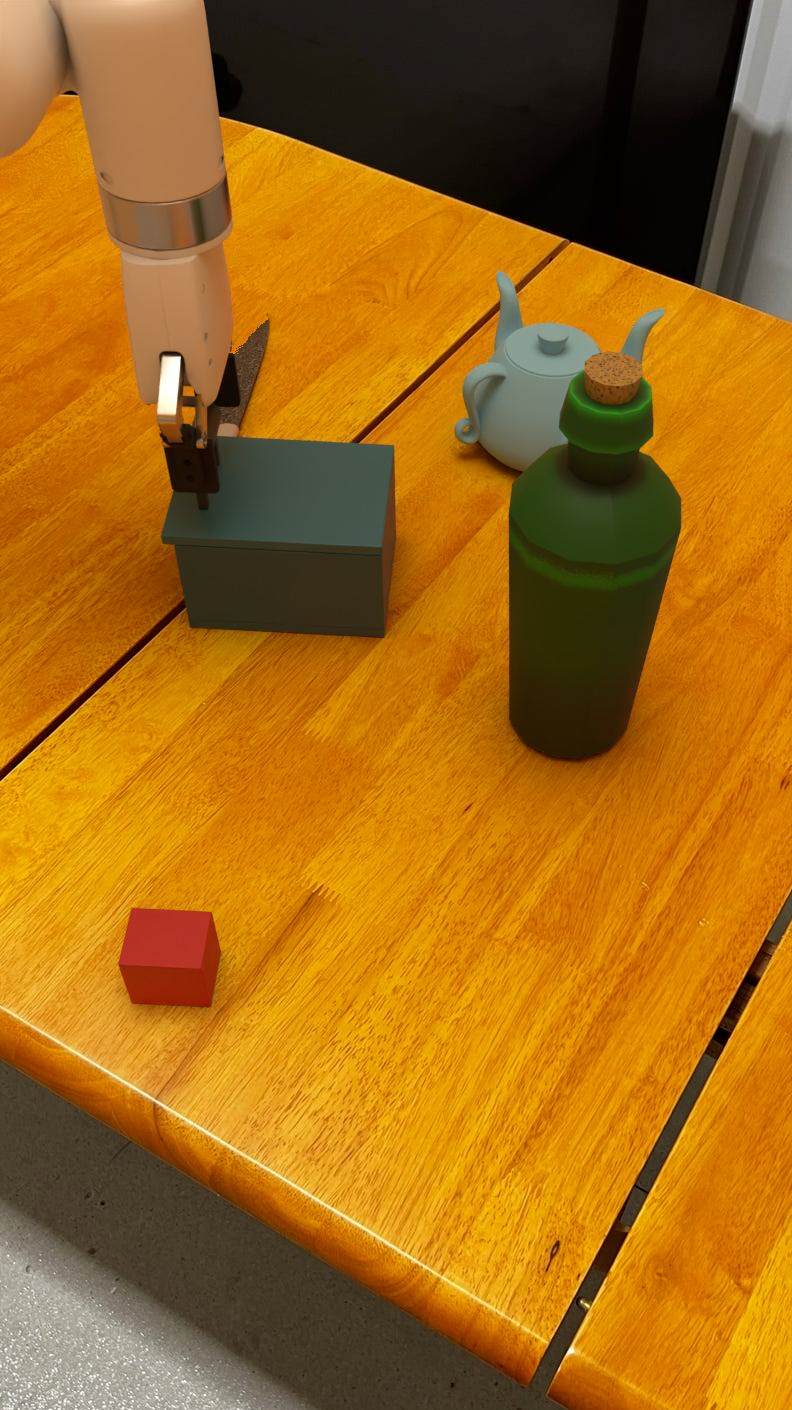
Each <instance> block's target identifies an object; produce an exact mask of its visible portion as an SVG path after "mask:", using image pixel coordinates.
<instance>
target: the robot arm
mask: <svg viewBox="0 0 792 1410" xmlns="http://www.w3.org/2000/svg"><path fill="white" fill-rule="evenodd" d="M212 58H213V57H212V51H211V43H210V36H209V28H208V20H207V13H206V8H205V2H204V0H0V160H1V159H4V158H8V157H10V156H12V155H13V154H15V153H16V152H18V151H19V150H21V149H22V148H23V147H25V146H26V144H27V143H28V142H29V141H30V140H31V139H32V137H33V136H34V134H35V133H36V131H38V128H39V127H40V125H41V123H42V121H43V120H44V119H45V116H46V114H47V113H48V112H49V110H50V108H51V106H52V103H53V102H54V100H55V99H57V98H59V97H60V96H61V95H63V94H65V93H67V92H69V91H73V92H74V93H76V94H77V95H78V98H79V103H80V107H81V113H82V117H83V123H84V127H85V132H86V137H87V140H88V141H87V142H88V146H89V150H90V155H91V161H92V166H93V170H94V174H95V179H96V184H97V188H98V194H99V198H100V203H101V207H102V208H101V209H102V213H103V217H104V222H105V225H106V231H107V236H108V238H109V240H110V241H111V242H112V244H113V245H114V246H116V247H117V248H118V249H119V250H120V267H121V268H120V269H121V283H122V294H123V300H124V309H125V317H126V324H127V325H126V326H127V330H128V338H129V343H130V349H131V355H132V356H131V357H132V362H133V368H134V374H135V379H136V386H137V391H138V396H139V399H140V400H141V402H142V403H143V404H144V405H145V406H151V405H156V422H157V426H158V428H159V431H160V432H159V438H161V439H160V440H161V446H162V448H163V452H164V456H165V462H166V467H167V472H168V476H169V482H170V486H171V489H172V491H173V490H174V491H176V492H184V493H209V494H216V493H218V491H219V488H220V481H219V475H218V469H217V463H216V457H215V451H214V445H213V439H207V407H208V406H209V405H210V404H212V403H213V404H215V405H216V406H218V407H238V406H239V405H240V402H241V395H240V388H239V381H238V374H237V367H236V360H235V354H233V353H229V351H230V352H231V351H232V345H233V334H234V312H233V311H234V310H233V309H234V308H233V301H232V293H231V285H230V279H229V272H228V271H229V270H228V265H227V260H226V254H225V248H224V241H226V240H227V239H228V238H229V236H230V235H231V234H232V232H233V228H234V220H233V210H232V203H231V196H230V187H229V179H228V172H227V167H226V166H227V165H226V159H225V152H224V151H225V149H224V143H223V136H222V134H223V133H222V129H221V127H222V126H221V120H220V112H219V103H218V97H217V90H216V82H215V75H214V74H215V73H214V66H213V59H212ZM184 387H189V388H190V387H191V388H192V389H193V394H194V395H184ZM183 408H194V417H195V428H194V427H193V426H192V424H191V423H185V418H184V415H183Z"/></svg>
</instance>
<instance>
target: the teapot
mask: <svg viewBox="0 0 792 1410" xmlns="http://www.w3.org/2000/svg"><path fill="white" fill-rule="evenodd" d="M495 282H496V285H497V288H498V292H499V301H500V303H499V315H498V321H497V325H496V330H495V335H494V341H493V342H494V343H493V354H492V355H491V356H489V359H488V360H487V361H486V362H484V363H481V364H479V365H477V366H475V367H473V368H472V369H471V370H470V371H469V372H468V373H467V374H466V375H465V377H464V379H463V382H462V387H461V388H462V391H461V392H462V399H463V404H464V406H465V410H466V414H467V416H468V417H462V418H460V419H459V420H457V422H456V423H455V425H454V428H453V433H454V436H455V439H456V440H457V441H458V442H460V443H461V444H465V445H472V444H475V443H477V442H479V443H480V445H481V447H483V449H484V450H486V451H487V452H488V453H489V454H490V455H491V456H492V457H493V458H494V459H496V460H497V461H498V462H500V463H501V464H503V465H504V466H507V467H508V468H510V469H513V470H515V471H518V472H522V473H523V472H524V471H525V470H526V469H527V468H528V467H529V466H530V465H531V464H532V463H533V462H535V461H536V460H537V459H538V458H539V457H540V456H541V455H542V454H544V453H545V452H546V451H547V450H548V449H549V448H551V447H555V446H559V445H563V444H567V443H568V439H567V438H566V437H565V435H564V434H563V433H562V432H561V430H560V429H559V419H560V412H561V409H562V406H563V403H564V400H565V397H566V394H567V391H568V388H569V385H570V382H571V380H572V379H573V378H574V377H575V376H576V375H577V374H579V373H580V372H581V371H582V370H584V368H585V361H586V360H588V359H589V358H590V357H591V356H592V355H594V354H598V353H603V351H602V349H601V348H600V347H599V345H598V343H596V341H595V340H594V339H593V338H592V337H591V336H590V335H589V334H587V333H586V332H584V331H582V330H580V329H578V328H576V327H574V326H571V325H567V324H562V323H559V322H541V323H534V324H529V325H526V326H524V323H523V318H522V317H523V316H522V313H521V308H520V303H519V299H518V293H517V290H516V286H515V285H514V283H513V280H512V279H511V278H510V276H509V275H508V274H507V273H506V272H504V271H502V270H498V271H496V273H495ZM665 314H666V309H665V308H656V309H652V310H650V311H648V312H646V313H645V314H643V315H642V316H640V317H639V318H638V319H637V320H636V321H635V323H634V324H633V326H632V327H631V328H630V331H629V332H628V335H627V337H626V338H625V341H624V344H623V345H622V348H621V349H620V351H619V353H624V354H626V355H629V356H631V357H633V358H636V360H637V361H638V362H639V363H640V364H641V365H642V366H643V359H644V352H645V346H646V342H647V339H648V337H649V334H650V332H651V331H652V329H653V328H654V326H655V325H656V324H657V323H659V321H660V320H661V319H662V318H663V317H664V316H665ZM466 428H468V429H467V430H465V429H466Z"/></svg>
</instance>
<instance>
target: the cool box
mask: <svg viewBox="0 0 792 1410" xmlns="http://www.w3.org/2000/svg"><path fill="white" fill-rule="evenodd" d="M395 456H396V455H394V461H393V469H392V478H391V486H390V494H389V503H388V511H387V519H386V528H385V536H384V544H383V552H382V555H364V554H344V553H325V552H306V551H286V550H267V549H248V548H228V547H209V546H190V545H173V547H174V553H175V559H176V564H177V568H178V573H179V579H180V583H181V588H182V589H181V590H182V595H183V599H184V606H185V609H186V615H187V619H188V620H187V621H188V626H189V628H197V629H214V630H215V629H217V630H236V631H254V632H255V631H256V632H274V633H291V634H292V633H293V634H294V633H295V634H311V635H312V634H313V635H331V636H350V637H351V636H353V637H369V638H370V637H371V638H372V637H373V638H385V636H386V629H387V620H388V612H389V611H388V610H389V603H390V593H391V585H392V575H393V568H394V559H395V550H396V540H397V517H396V516H397V513H396V506H397V505H396V463H395V461H396V460H395Z"/></svg>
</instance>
